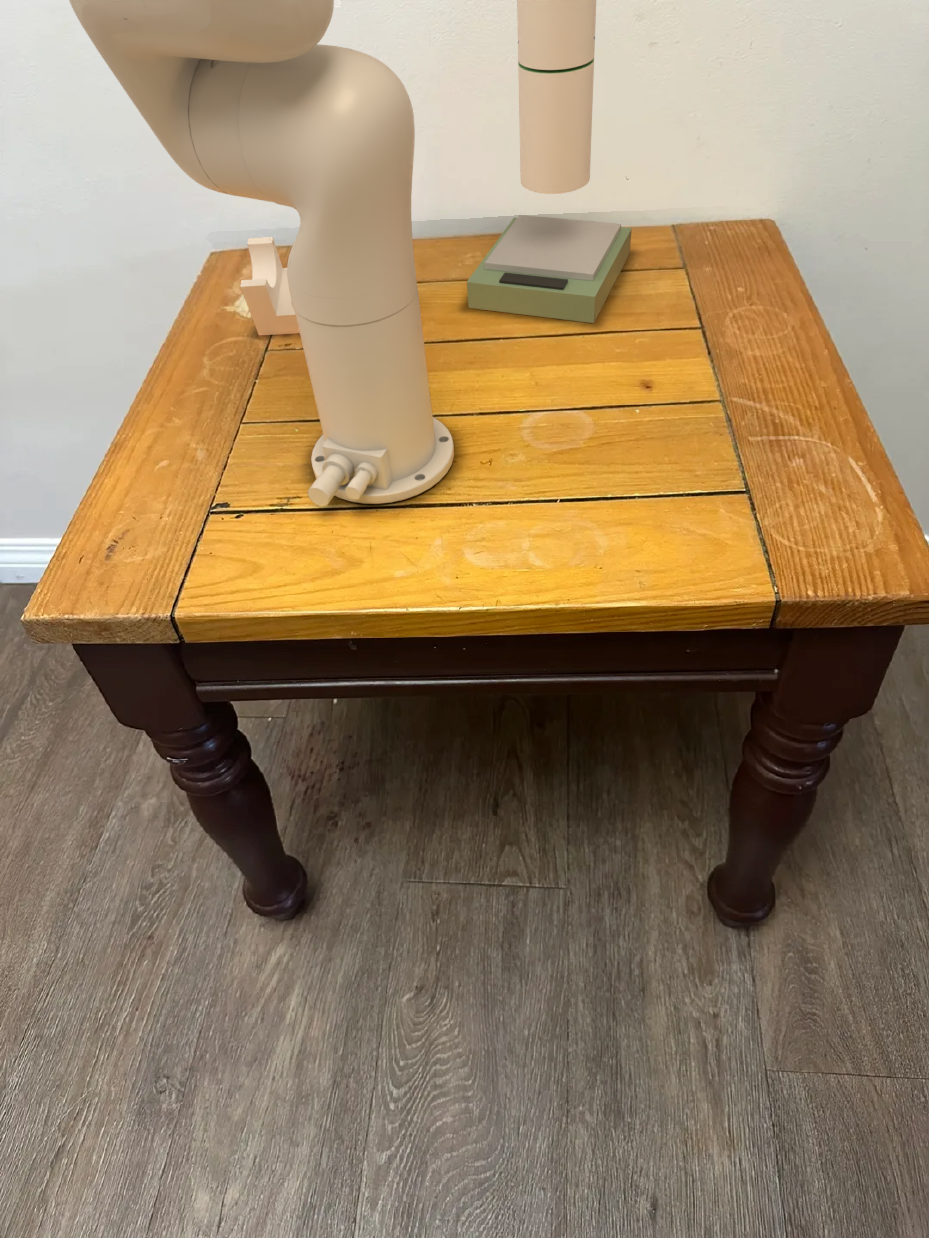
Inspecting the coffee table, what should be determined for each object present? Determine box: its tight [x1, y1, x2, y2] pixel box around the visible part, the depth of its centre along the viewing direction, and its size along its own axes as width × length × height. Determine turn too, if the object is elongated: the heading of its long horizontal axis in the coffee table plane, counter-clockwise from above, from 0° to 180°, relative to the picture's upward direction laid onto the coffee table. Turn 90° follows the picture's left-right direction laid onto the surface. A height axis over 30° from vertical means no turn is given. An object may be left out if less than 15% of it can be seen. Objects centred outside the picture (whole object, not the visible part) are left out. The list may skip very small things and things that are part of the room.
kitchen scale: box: [466, 214, 633, 324], centre depth 95 cm, size 16×14×4 cm
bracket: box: [239, 236, 300, 336], centre depth 92 cm, size 13×7×8 cm, turn 89°
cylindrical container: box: [516, 0, 597, 195], centre depth 80 cm, size 7×7×25 cm
